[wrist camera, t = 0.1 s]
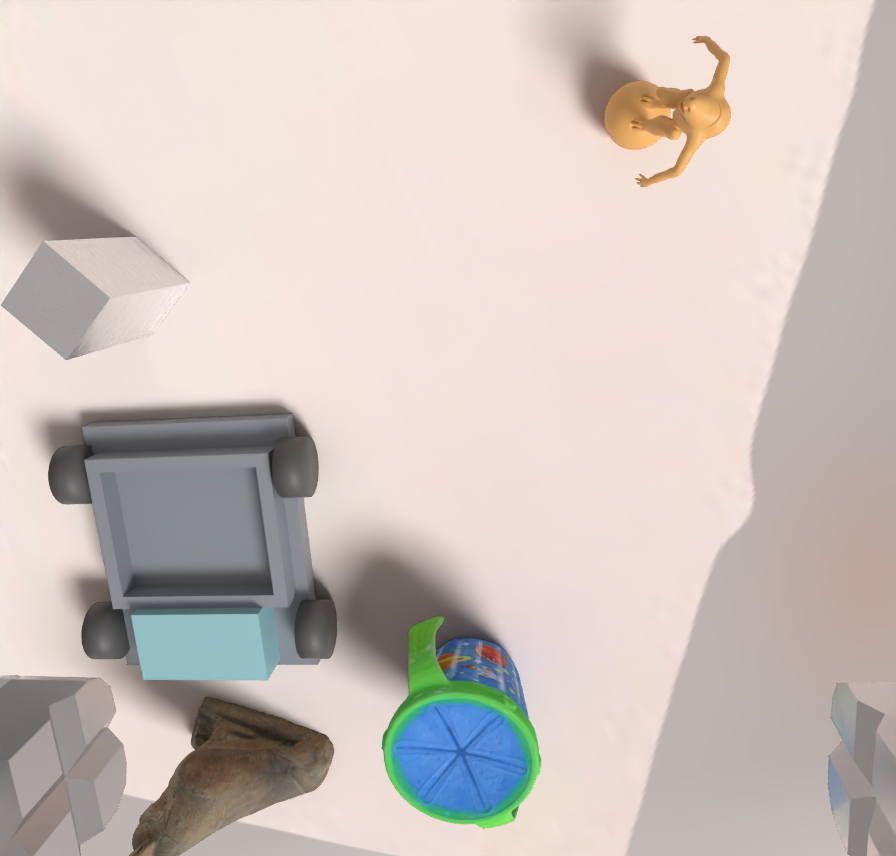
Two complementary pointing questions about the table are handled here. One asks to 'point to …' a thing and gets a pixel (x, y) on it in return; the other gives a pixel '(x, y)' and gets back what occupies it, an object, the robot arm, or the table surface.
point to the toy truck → (200, 545)
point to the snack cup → (461, 732)
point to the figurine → (648, 114)
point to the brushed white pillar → (94, 293)
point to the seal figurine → (231, 776)
